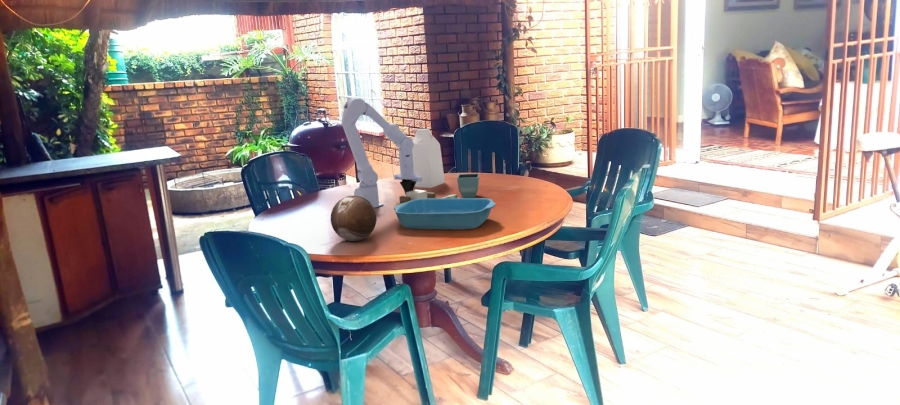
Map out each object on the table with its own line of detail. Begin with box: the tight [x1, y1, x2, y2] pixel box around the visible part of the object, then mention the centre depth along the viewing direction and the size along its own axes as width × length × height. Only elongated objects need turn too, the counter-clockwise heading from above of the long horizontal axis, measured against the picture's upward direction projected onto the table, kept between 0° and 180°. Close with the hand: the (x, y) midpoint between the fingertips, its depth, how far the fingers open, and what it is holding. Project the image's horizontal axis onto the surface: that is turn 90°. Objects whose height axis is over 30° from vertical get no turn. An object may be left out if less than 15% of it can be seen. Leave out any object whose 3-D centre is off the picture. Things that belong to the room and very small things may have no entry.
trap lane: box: [398, 191, 461, 204], centre depth 258 cm, size 24×21×4 cm
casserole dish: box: [393, 197, 497, 230], centre depth 225 cm, size 37×22×7 cm, turn 73°
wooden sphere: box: [330, 195, 378, 242], centre depth 209 cm, size 15×15×15 cm
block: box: [405, 189, 428, 200], centre depth 262 cm, size 6×6×4 cm
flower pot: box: [456, 173, 480, 198], centre depth 264 cm, size 9×9×9 cm
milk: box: [412, 128, 446, 188], centre depth 295 cm, size 12×12×26 cm
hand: (409, 197), depth 265 cm, fingers closed
